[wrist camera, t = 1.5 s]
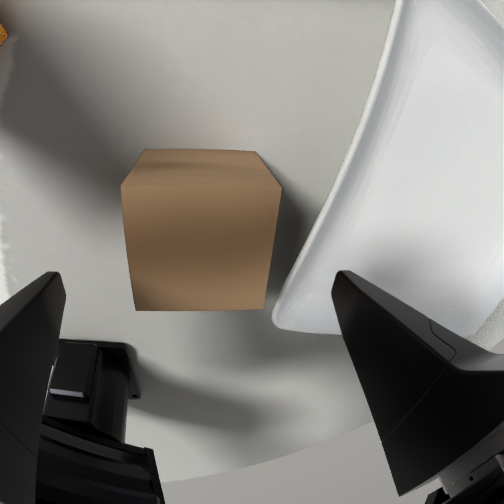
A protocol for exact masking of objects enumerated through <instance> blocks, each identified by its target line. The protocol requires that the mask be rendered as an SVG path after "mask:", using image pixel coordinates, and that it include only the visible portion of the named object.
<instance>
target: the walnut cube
mask: <svg viewBox="0 0 504 504" xmlns="http://www.w3.org/2000/svg"><path fill="white" fill-rule="evenodd" d="M281 192H282V188H281V186H280V185H279V183H278V182H277V181H276V179H275V178H274V176H273V175H272V174H271V172H270V171H269V170H268V168H267V167H266V165H265V164H264V163H263V161H262V160H261V159H260V157H259V156H258V155H257V153H256V152H255V151H239V150H215V149H145V150H144V152H143V153H142V154H141V156H140V157H139V159H138V160H137V162H136V163H135V165H134V166H133V168H132V169H131V171H130V172H129V174H128V175H127V177H126V178H125V180H124V181H123V183H122V185H121V200H122V212H123V223H124V233H125V242H126V250H127V258H128V265H129V273H130V279H131V286H132V292H133V298H134V304H135V309H136V311H220V310H255V309H263V307H264V301H265V295H266V289H267V282H268V276H269V270H270V264H271V257H272V251H273V245H274V238H275V232H276V225H277V219H278V212H279V205H280V199H281Z"/></svg>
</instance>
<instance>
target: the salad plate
mask: <svg viewBox="0 0 504 504" xmlns="http://www.w3.org/2000/svg"><path fill="white" fill-rule="evenodd" d="M339 270H350V271H352V272H354V273H355V274H357V275H359V276H361V277H362V278H364V279H366V280H367V281H369V282H371V283H372V284H374V285H376V286H377V287H379V288H381V289H383V290H384V291H386V292H388V293H389V294H391V295H393V296H394V297H396V298H398V299H399V300H401V301H403V302H404V303H406V304H407V305H409V306H411V307H412V308H414V309H416V310H417V311H419V312H421V313H422V314H424V315H425V316H427V317H428V318H430V319H432V320H434V321H435V322H437V323H439V324H440V325H442V326H444V327H445V328H447V329H449V330H450V331H452V332H454V333H456V334H457V335H459V336H461V337H463V338H466V337H470V336H472V335H474V334H476V333H477V332H478V331H479V329H480V328H481V327H482V326H483V325H484V323H485V322H486V321H487V319H488V318H489V317H490V316H491V314H492V313H493V312H494V310H495V309H496V307H497V306H498V305H499V303H500V302H501V300H502V299H503V297H504V26H503V25H502V24H501V23H500V21H499V20H498V19H497V18H496V17H495V16H494V15H493V13H492V12H491V11H490V10H489V9H488V8H487V7H486V6H485V5H484V4H483V3H482V2H481V1H480V0H395V4H394V8H393V12H392V16H391V20H390V24H389V28H388V31H387V35H386V39H385V43H384V46H383V50H382V53H381V57H380V60H379V64H378V67H377V70H376V74H375V77H374V80H373V83H372V86H371V89H370V92H369V95H368V98H367V101H366V104H365V107H364V109H363V112H362V115H361V118H360V120H359V123H358V126H357V128H356V131H355V133H354V136H353V138H352V141H351V143H350V146H349V148H348V151H347V153H346V156H345V158H344V160H343V163H342V165H341V167H340V169H339V172H338V174H337V176H336V179H335V181H334V183H333V185H332V188H331V190H330V192H329V194H328V196H327V198H326V200H325V203H324V205H323V207H322V209H321V211H320V213H319V215H318V217H317V219H316V221H315V223H314V225H313V228H312V230H311V232H310V234H309V236H308V238H307V240H306V242H305V244H304V246H303V248H302V250H301V252H300V254H299V256H298V258H297V259H296V261H295V263H294V265H293V267H292V269H291V271H290V273H289V275H288V277H287V279H286V280H285V282H284V284H283V286H282V289H281V291H280V293H279V295H278V297H277V300H276V302H275V305H274V307H273V310H272V322H273V324H274V325H275V326H276V327H278V328H280V329H284V330H290V331H297V332H306V333H318V334H335V335H342V333H341V330H340V326H339V323H338V319H337V315H336V312H335V308H334V305H333V301H332V297H331V289H332V286H333V283H334V279H335V276H336V273H337V272H338V271H339Z"/></svg>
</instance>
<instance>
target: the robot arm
mask: <svg viewBox="0 0 504 504" xmlns="http://www.w3.org/2000/svg"><path fill="white" fill-rule="evenodd" d="M331 297H332V301H333V305H334V308H335V312H336V315H337V319H338V323H339V326H340V330H341V333H342V336H343V339H344V341H345V344H346V346H347V349H348V352H349V354H350V357H351V359H352V362H353V365H354V367H355V370H356V372H357V375H358V378H359V380H360V383H361V386H362V389H363V391H364V394H365V397H366V399H367V402H368V405H369V408H370V411H371V413H372V416H373V419H374V422H375V425H376V428H377V430H378V434H379V436H380V439H381V441H382V446H383V448H384V452H385V455H386V458H387V461H388V464H389V467H390V470H391V473H392V477H393V480H394V483H395V486H396V489H397V493H398V495H399V497H400V496H402V495H405V494H407V493H409V492H411V491H413V490H415V489H418V488H420V487H422V486H424V485H426V484H428V483H430V482H431V481H433V480H435V479H437V478H439V480H440V483H441V485H442V487H441V488H439V489H437V490H436V491H434V492H432V493H431V494H429V495H428V497H427V499H426V502H425V504H504V354H496V353H492V352H489V351H487V350H485V349H483V348H481V347H480V346H478V345H476V344H474V343H472V342H470V341H468V340H467V339H465V338H463V337H461V336H459V335H457V334H456V333H454V332H452V331H450V330H449V329H447V328H445V327H444V326H442V325H440V324H439V323H437V322H435V321H434V320H432V319H430V318H428V317H427V316H425V315H424V314H422V313H421V312H419V311H417V310H416V309H414V308H412V307H411V306H409V305H407V304H406V303H404V302H403V301H401V300H399V299H398V298H396V297H394V296H393V295H391V294H389V293H388V292H386V291H384V290H383V289H381V288H379V287H377V286H376V285H374V284H372V283H371V282H369V281H367V280H366V279H364V278H362V277H361V276H359V275H357V274H355V273H354V272H352V271H350V270H339V271H338V272H337V273H336V276H335V279H334V283H333V286H332V289H331ZM65 301H66V293H65V289H64V286H63V282H62V279H61V275H60V273H59V272H46V273H45V274H43V275H42V276H40V277H39V278H37V279H36V280H35V281H33V282H32V283H30V284H29V285H27V286H26V287H25V288H23V289H22V290H20V291H19V292H18V293H16V294H15V295H13V296H12V297H11V298H9V299H8V300H7V301H5V302H4V303H3V304H1V305H0V504H165V501H164V496H163V492H162V488H161V484H160V479H159V475H158V471H157V466H156V461H155V456H154V451H153V449H150V448H146V447H145V448H140V447H137V446H133V445H129V444H125V433H126V417H127V405H128V399H140V398H141V391H140V388H139V385H138V381H137V378H136V375H135V372H134V368H133V365H132V361H131V358H130V354H129V350H128V348H127V346H126V345H124V344H121V343H102V342H85V341H71V340H59V335H60V329H61V323H62V317H63V311H64V306H65ZM52 365H53V366H54V368H53V371H52V374H51V378H50V373H51V369H52ZM49 378H50V381H49ZM48 383H49V385H48ZM47 388H48V393H47ZM46 393H47V396H46ZM45 398H46V400H45Z"/></svg>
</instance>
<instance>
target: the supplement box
mask: <svg viewBox="0 0 504 504" xmlns="http://www.w3.org/2000/svg"><path fill="white" fill-rule="evenodd" d="M7 36H8V35H7V33H6V31H5V29H4V27H3V26H2V24H1V23H0V45H1V44H2V42H3V41H4V40H5V39H6V38H7Z"/></svg>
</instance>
